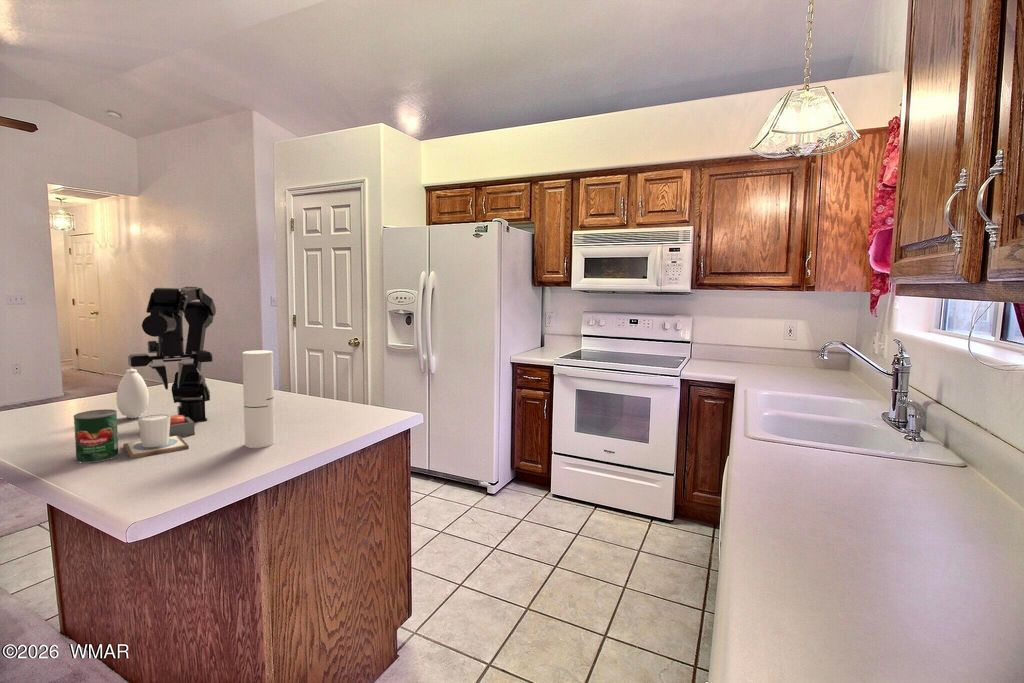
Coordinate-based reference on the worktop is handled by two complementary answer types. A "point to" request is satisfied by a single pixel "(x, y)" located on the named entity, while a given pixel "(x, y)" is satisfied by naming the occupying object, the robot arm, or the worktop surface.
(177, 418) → the button
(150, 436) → the white cup
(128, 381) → the sauce bottle
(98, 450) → the canned tomato
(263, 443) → the cylindrical container
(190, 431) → the button housing
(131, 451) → the wooden picture frame
